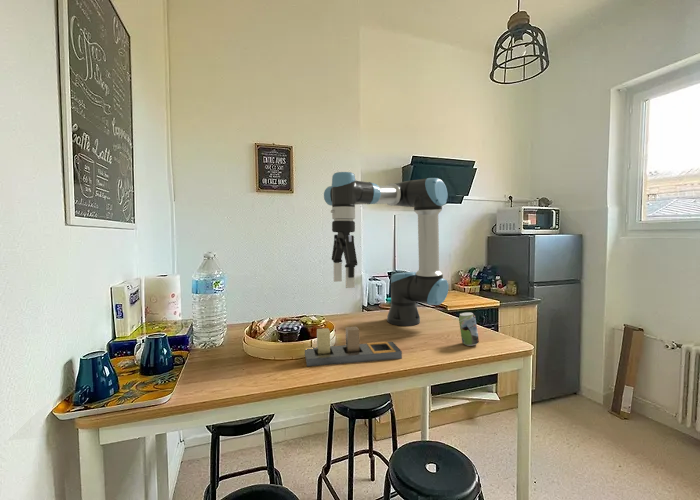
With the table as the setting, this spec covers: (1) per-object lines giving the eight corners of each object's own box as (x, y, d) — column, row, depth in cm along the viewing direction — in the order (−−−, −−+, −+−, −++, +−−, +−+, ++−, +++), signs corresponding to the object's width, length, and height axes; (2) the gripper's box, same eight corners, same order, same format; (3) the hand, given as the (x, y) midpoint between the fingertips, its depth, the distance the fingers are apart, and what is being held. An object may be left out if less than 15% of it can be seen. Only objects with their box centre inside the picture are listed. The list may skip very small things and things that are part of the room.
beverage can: (480, 347, 127) (480, 315, 127) (459, 346, 129) (459, 314, 128) (477, 342, 134) (478, 311, 133) (457, 341, 135) (457, 310, 134)
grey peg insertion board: (304, 355, 122) (304, 347, 121) (392, 348, 128) (392, 341, 127) (306, 366, 112) (306, 358, 112) (401, 358, 118) (401, 350, 118)
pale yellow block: (317, 357, 119) (316, 328, 119) (328, 356, 120) (328, 328, 119) (318, 362, 116) (317, 332, 115) (330, 361, 116) (329, 331, 116)
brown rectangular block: (345, 355, 121) (345, 327, 121) (357, 354, 122) (356, 326, 121) (347, 359, 117) (347, 330, 117) (359, 358, 118) (359, 329, 117)
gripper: (323, 220, 125) (323, 279, 126) (344, 219, 101) (344, 291, 103) (342, 221, 127) (343, 278, 129) (368, 219, 104) (367, 290, 105)
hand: (343, 284), depth 116 cm, fingers open, 13 cm apart
